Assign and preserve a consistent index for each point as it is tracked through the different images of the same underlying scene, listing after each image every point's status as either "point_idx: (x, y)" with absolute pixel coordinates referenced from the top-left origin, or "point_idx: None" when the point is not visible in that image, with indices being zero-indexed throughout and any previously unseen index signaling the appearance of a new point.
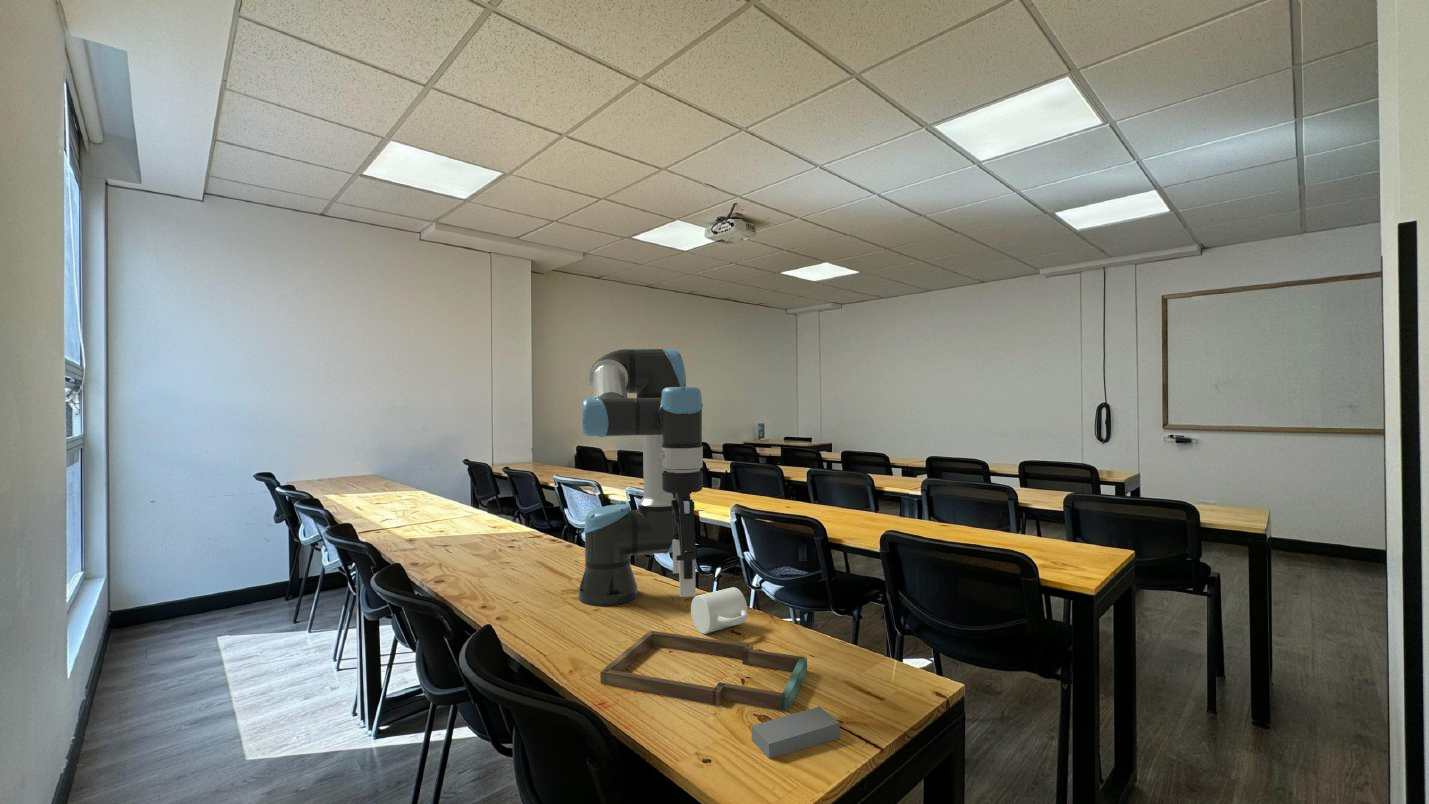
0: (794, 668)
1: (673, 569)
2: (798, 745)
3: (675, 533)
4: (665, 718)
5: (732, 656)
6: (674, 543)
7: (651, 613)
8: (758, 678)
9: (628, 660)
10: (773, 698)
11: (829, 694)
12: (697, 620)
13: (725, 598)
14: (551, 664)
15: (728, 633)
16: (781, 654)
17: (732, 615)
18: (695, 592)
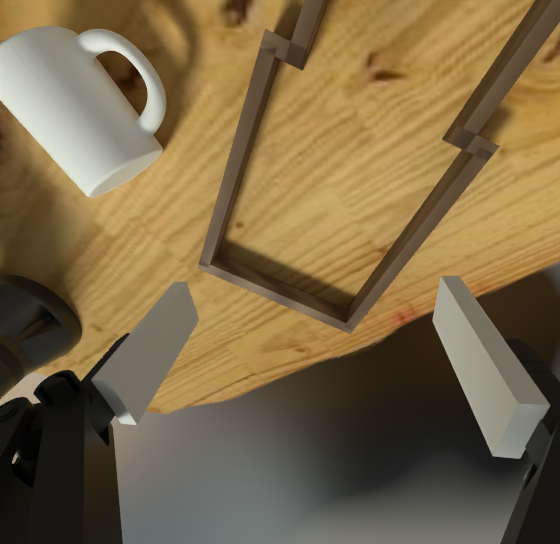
0: None
1: (193, 327)
2: None
3: (111, 455)
4: (481, 238)
5: (268, 95)
6: (141, 407)
7: (85, 254)
8: (382, 29)
9: (294, 293)
10: None
11: None
12: (130, 176)
13: (71, 104)
14: (279, 368)
15: (142, 96)
16: None
17: (107, 82)
18: (463, 283)
